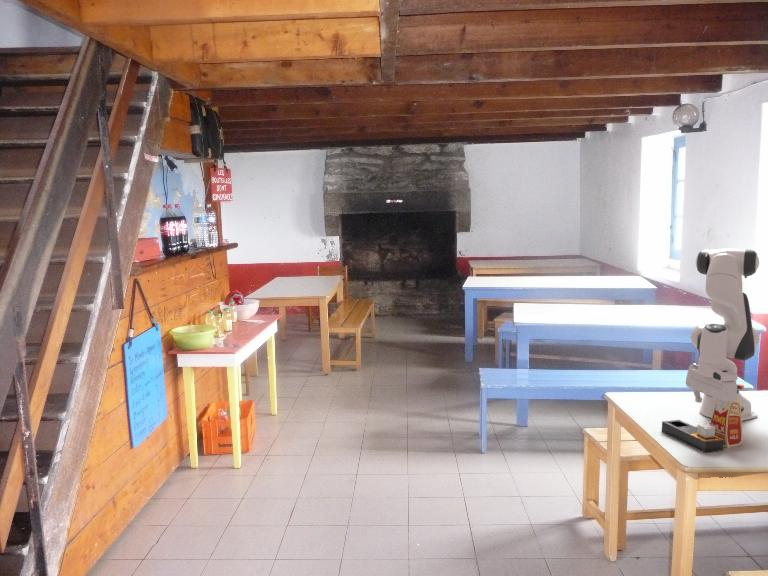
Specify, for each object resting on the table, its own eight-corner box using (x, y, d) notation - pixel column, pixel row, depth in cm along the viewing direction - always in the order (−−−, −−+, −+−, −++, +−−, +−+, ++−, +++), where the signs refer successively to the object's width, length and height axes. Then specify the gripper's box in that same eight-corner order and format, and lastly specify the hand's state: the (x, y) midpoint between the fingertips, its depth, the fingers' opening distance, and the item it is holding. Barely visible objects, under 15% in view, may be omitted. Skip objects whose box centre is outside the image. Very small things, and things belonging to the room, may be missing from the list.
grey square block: (705, 444, 222) (706, 423, 221) (713, 448, 218) (715, 427, 217) (696, 445, 221) (697, 424, 220) (704, 449, 217) (706, 428, 216)
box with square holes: (678, 429, 238) (679, 419, 237) (723, 450, 217) (724, 439, 216) (661, 431, 236) (662, 420, 235) (705, 452, 214) (705, 441, 214)
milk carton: (727, 447, 219) (731, 394, 217) (705, 439, 228) (708, 388, 225) (744, 444, 223) (748, 392, 220) (721, 435, 231) (725, 385, 229)
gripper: (682, 362, 225) (680, 397, 227) (726, 378, 205) (723, 417, 207) (696, 361, 226) (694, 396, 229) (741, 377, 207) (738, 415, 209)
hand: (708, 406), depth 218 cm, fingers open, 8 cm apart
